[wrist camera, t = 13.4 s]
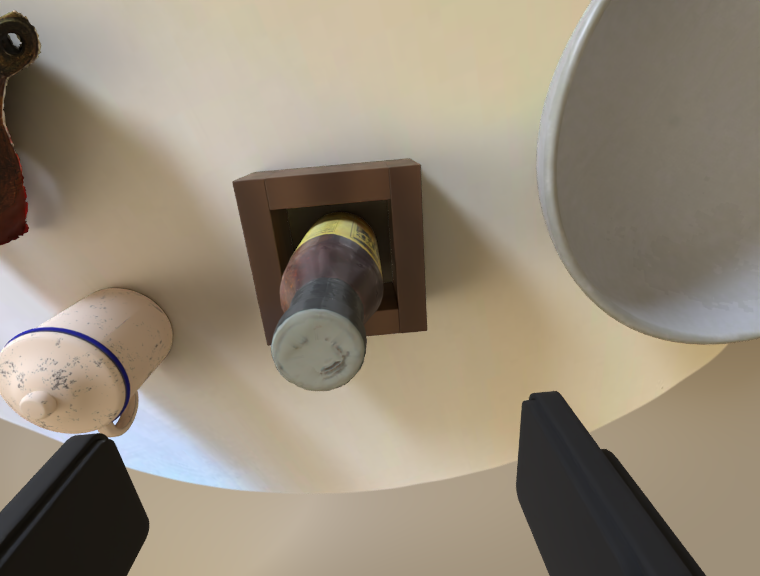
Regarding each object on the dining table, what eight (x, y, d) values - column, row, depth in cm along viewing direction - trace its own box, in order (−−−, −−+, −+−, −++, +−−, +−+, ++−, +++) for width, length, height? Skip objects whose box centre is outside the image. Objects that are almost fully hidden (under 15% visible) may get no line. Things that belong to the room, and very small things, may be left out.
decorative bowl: (878, -37, 29) (1200, -139, 18) (719, 295, 39) (864, 362, 28) (532, -107, 27) (657, -276, 16) (454, 266, 37) (496, 327, 25)
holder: (410, 158, 33) (420, 164, 27) (417, 301, 38) (427, 330, 32) (253, 172, 33) (231, 181, 27) (280, 313, 38) (267, 346, 32)
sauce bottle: (380, 272, 36) (400, 417, 18) (312, 278, 36) (263, 432, 18) (373, 200, 34) (388, 284, 16) (300, 207, 34) (230, 301, 16)
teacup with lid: (59, 290, 36) (-72, 360, 25) (160, 278, 36) (73, 343, 25) (107, 398, 40) (15, 498, 29) (197, 388, 40) (137, 483, 29)
